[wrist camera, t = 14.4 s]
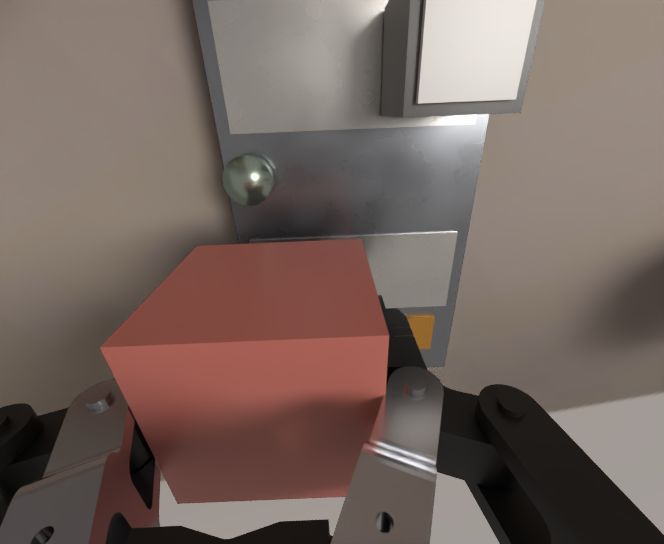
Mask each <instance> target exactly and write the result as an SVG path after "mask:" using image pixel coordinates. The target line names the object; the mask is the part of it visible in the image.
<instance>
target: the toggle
mask: <svg viewBox="0 0 664 544" xmlns="http://www.w3.org/2000/svg"><path fill="white" fill-rule="evenodd" d="M544 4H545V0H389V1H388V3H387V5H386V6H385V14H384V44H383V74H382V105H381V116H388V117H401V118H406V117H430V116H454V115H478V114H502V113H521V109H522V104H523V100H524V95H525V91H526V86H527V81H528V77H529V72H530V68H531V63H532V59H533V54H534V50H535V45H536V40H537V36H538V31H539V27H540V22H541V18H542V13H543V8H544Z"/></svg>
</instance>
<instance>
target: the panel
mask: <svg viewBox="0 0 664 544" xmlns="http://www.w3.org/2000/svg"><path fill="white" fill-rule="evenodd" d="M388 1H389V0H192V2H193V8H194V13H195V18H196V23H197V29H198V34H199V39H200V44H201V50H202V55H203V60H204V65H205V71H206V76H207V81H208V86H209V91H210V97H211V102H212V107H213V112H214V118H215V123H216V128H217V133H218V139H219V144H220V149H221V154H222V160H223V165H224V170H223V175H222V181H223V186H224V189H225V191H226V192H227V194H228V195H229V196H230V201H231V207H232V212H233V217H234V222H235V228H236V233H237V238H238V243H239V244H250V243H274V242H298V241H322V240H346V239H362V242H363V245H364V249H365V252H366V256H367V259H368V263H369V266H370V270H371V273H372V277H373V280H374V284H375V287H376V291H377V294H378V295H382V298H383V301H384V304H385V308H398V309H399V310H400V311H401V312H402V313H403V314H404V315H405V316H406V317H407V320H408V322H409V325H410V328H411V330H412V332H413V336H414V337H415V340H416V342H417V345H418V347H419V350H420V352H421V355H422V358H423V360H424V363H425V365H426V367H444V365H445V360H446V354H447V348H448V343H449V337H450V332H451V326H452V320H453V315H454V309H455V303H456V298H457V292H458V286H459V281H460V275H461V269H462V264H463V258H464V253H465V247H466V241H467V236H468V230H469V224H470V219H471V213H472V207H473V202H474V196H475V191H476V185H477V179H478V174H479V168H480V162H481V157H482V151H483V145H484V140H485V134H486V128H487V123H488V117H489V114H478V115H454V116H430V117H406V118H401V117H388V116H381V105H382V74H383V44H384V14H385V6H386V5H387V3H388Z"/></svg>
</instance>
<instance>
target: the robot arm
mask: <svg viewBox="0 0 664 544" xmlns="http://www.w3.org/2000/svg"><path fill="white" fill-rule="evenodd" d="M378 298H379V301H380V305H381V308H382V312H383V315H384V319H385V322H386V326H387V329H388V333H389V348H388V364H387V380H386V395H384V396H383V400H382V403H381V406H380V409H379V412H378V415H377V419H376V422H375V425H374V428H373V431H372V435H371V438H370V440H369V442H367V441H366V442H365V443H364V445H363V447H362V450H361V453H360V456H359V459H358V462H357V465H356V468H355V471H354V474H353V477H352V480H351V483H350V486H349V489H348V492H347V495H346V498H345V501H344V504H343V507H342V510H341V513H340V516H339V519H338V523H337V525H336V528H335V532H334V535H333V536H331V535H330V533H329V522H328V520H308V521H284V522H278V523H275V524H272V525H269V526H266V527H264V528H261V529H258V530H255V531H252V532H249V533H246V534H243V535H241V536H238V537H235V538H232V539H221V538H218V537H215V536H211V535H208V534H205V533H201V532H199V531H195V530H192V529H189V528H186V527H183V526H168V527H160V524H159V495H160V472H161V469H160V467H159V465H158V463H157V461H156V459H155V457H154V455H153V453H152V451H151V449H150V447H149V445H148V443H147V441H146V439H145V437H144V435H143V433H142V431H141V429H140V427H139V425H138V423H137V421H136V419H135V417H134V415H133V413H132V411H131V409H130V407H129V405H128V403H127V401H126V399H125V397H124V395H123V393H122V391H121V389H120V387H119V385H118V383H117V381H116V379H115V378H114V379H111V380H107V381H103V382H100V383H98V384H96V385H94V386H92V387H90V388H88V389H87V390H85V391H84V392H82V393H81V394H80V395H79V396H78V397H76V398H75V400H74V401H73V402H72V403H71V405H70V406H69V408H65V409H62V410H58V411H55V412H51V413H48V414H44V415H40V416H37V414H36V413H35V412H34V410H33V409H32V407H31V406H30V405H28V404H21V403H20V404H13V405H9V406H5V407H2V408H0V544H429V543H430V535H431V525H432V514H433V506H434V496H435V486H436V475H437V472H439V473H442V474H446V475H449V476H452V477H456V478H459V479H462V480H465V482H466V484H467V485H468V487H469V489H470V491H471V492H472V494H473V496H474V498H475V500H476V501H477V503H478V505H479V507H480V508H481V510H482V512H483V514H484V516H485V518H486V519H487V521H488V523H489V525H490V527H491V528H492V530H493V532H494V534H495V536H496V537H497V539H498V541H499V543H500V544H664V535H663V534H662V533H661V532H660V531H659V530H658V529H657V527H656V526H655V525H654V524H653V523H652V522H651V521H650V520H649V519H648V518H647V517H646V516H645V515H644V514H643V513H642V512H641V511H640V510H639V509H638V508H637V507H636V506H635V504H634V503H633V502H632V501H631V500H630V499H629V498H628V497H627V496H626V495H625V494H624V493H623V492H622V491H621V490H620V489H619V488H618V487H617V486H616V485H615V484H614V483H613V482H612V480H610V478H609V477H608V476H607V475H606V474H605V473H604V472H603V471H602V470H601V469H600V468H599V467H598V466H597V465H596V464H595V463H594V462H593V461H592V460H591V459H590V457H588V455H587V454H586V453H585V452H584V451H583V450H582V449H581V448H580V447H579V446H578V445H577V444H576V443H575V442H574V441H573V440H572V439H571V438H570V437H569V436H568V435H567V433H566V432H565V431H564V430H563V429H562V428H561V427H560V426H559V425H558V424H557V423H556V422H555V421H554V420H553V419H552V418H551V417H550V416H549V415H548V414H547V413H546V412H545V410H544V409H543V408H542V407H541V406H540V405H539V404H538V403H537V402H536V401H535V400H534V399H533V398H532V397H530V396H529V395H528V394H526V393H524V392H523V391H521V390H519V389H517V388H514V387H511V386H507V385H501V384H495V385H490V386H487V387H485V388H484V389H482V390H481V392H480V394H479V396H477V395H472V394H468V393H463V392H459V391H455V390H452V389H449V388H447V387H445V386H443V385H442V384H441V382H440V380H439V379H438V378H437V377H436V376H435V375H434V374H433V373H431V372H429V371H428V370H427V368H426V365H425V363H424V360H423V358H422V355H421V352H420V350H419V347H418V345H417V342H416V340H415V337H414V336H413V332H412V330H411V328H410V325H409V322H408V320H407V317H406V316H405V315H404V314H403V313H402V312H401V311H400V310H399V309H398V308H385V304H384V301H383V298H382V295H378Z"/></svg>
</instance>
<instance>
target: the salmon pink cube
mask: <svg viewBox="0 0 664 544" xmlns="http://www.w3.org/2000/svg"><path fill="white" fill-rule="evenodd" d="M388 348H389V333H388V329H387V326H386V322H385V319H384V315H383V312H382V308H381V305H380V301H379V298H378V294H377V291H376V287H375V284H374V280H373V277H372V273H371V270H370V266H369V263H368V259H367V256H366V252H365V249H364V245H363V242H362V239H346V240H322V241H298V242H274V243H250V244H227V245H203V246H196V248H195V249H194V250H193V251H192V252H191V253H190V254H189V255H188V256H187V257H186V258H185V259H184V260H183V261H182V262H181V263H180V264H179V265H178V266H177V267H176V268H175V269H174V270H173V272H172V273H171V274H170V275H169V276H168V277H167V278H166V279H165V280H164V281H163V282H162V283H161V284H160V285H159V286H158V287H157V288H156V289H155V290H154V291H153V292H152V293H151V294H150V295H149V297H148V298H147V299H146V300H145V301H144V302H143V303H142V304H141V305H140V306H139V307H138V308H137V309H136V310H135V311H134V312H133V313H132V314H131V315H130V316H129V317H128V318H127V319H126V321H125V322H124V323H123V324H122V325H121V326H120V327H119V328H118V329H117V330H116V331H115V332H114V333H113V334H112V335H111V336H110V337H109V338H108V339H107V340H106V341H105V342H104V343H103V344H102V346H101V347H100V349H101V351H102V353H103V355H104V357H105V359H106V361H107V363H108V365H109V367H110V369H111V371H112V373H113V375H114V377H115V379H116V381H117V383H118V385H119V387H120V389H121V391H122V393H123V395H124V397H125V399H126V401H127V403H128V405H129V407H130V409H131V411H132V413H133V415H134V417H135V419H136V421H137V423H138V425H139V427H140V429H141V431H142V433H143V435H144V437H145V439H146V441H147V443H148V445H149V447H150V449H151V451H152V453H153V455H154V457H155V459H156V461H157V463H158V465H159V467H160V469H161V471H162V473H163V475H164V477H165V479H166V481H167V483H168V485H169V487H170V489H171V491H172V493H173V495H174V497H175V499H176V501H177V503H178V504H180V503H204V502H227V501H252V500H276V499H299V498H323V497H346V495H347V492H348V489H349V486H350V483H351V480H352V477H353V474H354V471H355V468H356V465H357V462H358V459H359V456H360V453H361V450H362V447H363V445H364V443H365V442H366V441H367V442H369V440H370V438H371V435H372V431H373V428H374V425H375V422H376V419H377V415H378V412H379V409H380V406H381V403H382V400H383V396H384V395H386V380H387V364H388Z"/></svg>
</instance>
